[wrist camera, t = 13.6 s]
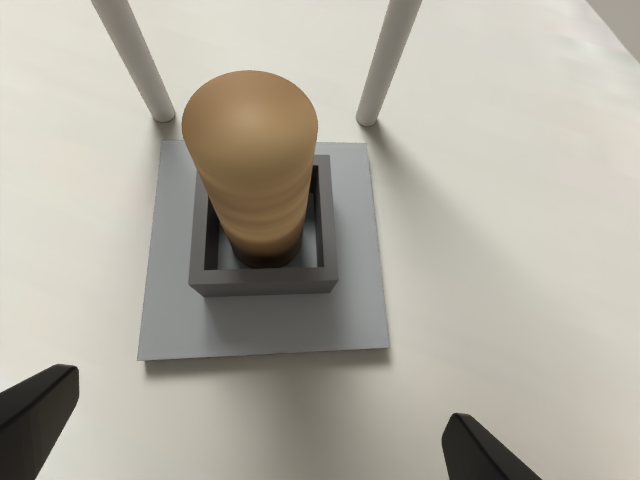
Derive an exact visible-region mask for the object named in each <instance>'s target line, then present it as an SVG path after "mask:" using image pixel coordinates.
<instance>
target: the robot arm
mask: <svg viewBox="0 0 640 480" xmlns="http://www.w3.org/2000/svg"><path fill="white" fill-rule="evenodd" d="M78 399H79V370H78V368H77V367H76V366H73V365H65V364H56V365H53V366H51V367H49V368H47V369H45V370H43V371H42V372H40V373H38V374H36V375H34V376H32V377H30V378H28V379H26V380H24V381H22V382H20V383H18V384H16V385H14V386H12V387H11V388H9V389H7V390H5V391H3V392H1V393H0V480H35V479H36V477H37V475H38V474H39V472H40V470H41V468H42V467H43V465H44V463H45V461H46V459H47V458H48V456H49V454H50V452H51V450H52V448H53V447H54V445H55V443H56V441H57V439H58V437H59V436H60V434H61V432H62V430H63V428H64V426H65V425H66V423H67V421H68V419H69V417H70V416H71V414H72V412H73V410H74V408H75V406H76V404H77V402H78ZM442 448H443V453H444V457H445V462H446V466H447V470H448V475H449V479H450V480H542V479H541V478H540V477H539V476H537V475H536V474H535V473H534V472H533V471H532V470H531V469H530V468H529V467H527V466H526V465H525V464H524V463H523V462H522V461H521V460H520V459H519V458H517V457H516V456H515V455H514V454H513V453H512V452H511V451H510V450H509V449H507V448H506V447H505V446H504V445H503V444H502V443H501V442H500V441H499V440H498V439H496V438H495V437H494V436H493V435H492V434H491V433H490V432H489V431H488V430H486V429H485V428H484V427H483V426H482V425H481V424H480V423H479V422H478V421H476V420H475V419H474V418H473V417H472V416H471V415H468V414H462V413H454V414H452V415H451V417H450V419H449V422H448V424H447V426H446V428H445V430H444V432H443V435H442Z"/></svg>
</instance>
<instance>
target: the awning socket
mask: <svg viewBox="0 0 640 480" xmlns="http://www.w3.org/2000/svg"><path fill="white" fill-rule="evenodd" d="M91 2H92V4H93V5H94V7H95V9H96V11H97V13H98V15H99V17H100V19H101V21H102V22H103V24H104V26H105V28H106V30H107V32H108V34H109V36H110V37H111V39H112V41H113V43H114V45H115V47H116V49H117V51H118V52H119V54H120V56H121V58H122V60H123V62H124V64H125V66H126V68H127V69H128V71H129V73H130V75H131V77H132V79H133V81H134V83H135V84H136V86H137V88H138V90H139V92H140V94H141V96H142V98H143V99H144V101H145V103H146V105H147V107H148V109H149V111H150V113H151V115H152V116H153V118H154V119H155V120H156V121H158V122H167V121H170V120H171V119H172V118H173V117H174V116H175V110H174V107H173V105H172V103H171V100H170V98H169V96H168V93H167V91H166V89H165V86H164V84H163V82H162V79H161V77H160V75H159V72H158V70H157V68H156V66H155V63H154V61H153V59H152V56H151V54H150V52H149V49H148V47H147V45H146V42H145V40H144V38H143V35H142V33H141V31H140V28H139V26H138V24H137V21H136V19H135V17H134V14H133V12H132V10H131V7H130V5H129V3H128V1H127V0H91ZM421 2H422V0H390V2H389V5H388V9H387V12H386V15H385V19H384V22H383V26H382V29H381V32H380V36H379V39H378V43H377V46H376V49H375V53H374V56H373V60H372V63H371V66H370V70H369V73H368V77H367V80H366V83H365V87H364V90H363V94H362V97H361V100H360V104H359V107H358V111H357V114H356V119H357V121H358V123H359V124H361V125H363V126H372V125H373V124H375V122H376V120H377V117H378V115H379V112H380V109H381V107H382V104H383V102H384V99H385V96H386V94H387V91H388V88H389V86H390V83H391V81H392V78H393V75H394V73H395V70H396V68H397V65H398V62H399V60H400V57H401V55H402V52H403V49H404V47H405V44H406V42H407V39H408V36H409V34H410V31H411V28H412V26H413V23H414V21H415V18H416V15H417V13H418V10H419V8H420V5H421ZM377 348H389V338H388V329H387V320H386V311H385V302H384V294H383V285H382V276H381V267H380V258H379V249H378V240H377V231H376V223H375V214H374V205H373V196H372V187H371V178H370V169H369V161H368V152H367V143H334V142H316V147H315V153H314V160H313V167H312V174H311V180H310V187H309V194H308V201H307V208H306V214H305V221H304V228H303V235H302V241H301V246H300V249H299V251H298V253H297V255H296V256H295V258H294V259H293V260H292V261H291V262H290V263H289V264H287V265H286V266H284V267H282V268H269V269H252V268H249V267H248V266H246V265H244V264H243V263H242V262H241V261H240V260H239V259H238V258H237V257H236V255H235V253H234V252H233V249H232V247H231V245H230V243H229V240H228V238H227V236H226V234H225V231H224V229H223V227H222V225H221V223H220V220H219V218H218V216H217V214H216V211H215V209H214V207H213V205H212V202H211V200H210V198H209V196H208V193H207V191H206V189H205V187H204V185H203V182H202V180H201V178H200V176H199V173H198V171H197V169H196V167H195V164H194V162H193V160H192V158H191V155H190V153H189V151H188V149H187V147H186V144H185V141H184V140H162V146H161V155H160V164H159V173H158V181H157V190H156V199H155V207H154V216H153V225H152V233H151V242H150V251H149V260H148V268H147V277H146V286H145V294H144V303H143V312H142V320H141V329H140V338H139V346H138V355H137V361H147V360H166V359H185V358H204V357H224V356H243V355H262V354H281V353H300V352H320V351H339V350H358V349H377Z"/></svg>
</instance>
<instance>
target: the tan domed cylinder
mask: <svg viewBox="0 0 640 480" xmlns="http://www.w3.org/2000/svg"><path fill="white" fill-rule="evenodd" d="M317 133H318V121H317V115H316V112H315V109H314V107H313V105H312V103H311V101H310V100H309V99H308V97H307V96H306V95H305V94H304V92H303V91H302V90H301V89H299V88H298V87H297V86H296V85H295V84H293V83H291V82H290V81H288V80H286V79H284V78H282V77H280V76H277V75H275V74H271V73H267V72H262V71H252V70H246V71H236V72H231V73H227V74H224V75H221V76H218V77H216V78H214V79H212V80H210V81H208V82H207V83H205V84H204V85H203V86H201V87H200V88H199V89H198V90H197V91H196V92H195V93H194V94H193V96H192V97H191V98H190V100H189V101H188V103H187V105H186V107H185V110H184V113H183V117H182V134H183V139H184V141H185V144H186V147H187V149H188V151H189V153H190V155H191V158H192V160H193V162H194V164H195V167H196V169H197V171H198V173H199V176H200V178H201V180H202V182H203V185H204V187H205V189H206V191H207V193H208V196H209V198H210V200H211V202H212V205H213V207H214V209H215V211H216V214H217V216H218V218H219V220H220V223H221V225H222V227H223V229H224V231H225V234H226V236H227V238H228V240H229V243H230V245H231V247H232V249H233V252H234V253H235V255H236V257H237V258H238V259H239V260H240V261H241V262H242V263H243V264H244V265H246V266H248V267H249V268H252V269H269V268H282V267H284V266H286V265H287V264H289V263H290V262H291V261H292V260H293V259H294V258H295V256H296V255H297V253H298V251H299V249H300V246H301V241H302V235H303V228H304V221H305V214H306V208H307V201H308V194H309V187H310V180H311V174H312V167H313V160H314V153H315V147H316V140H317Z"/></svg>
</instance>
